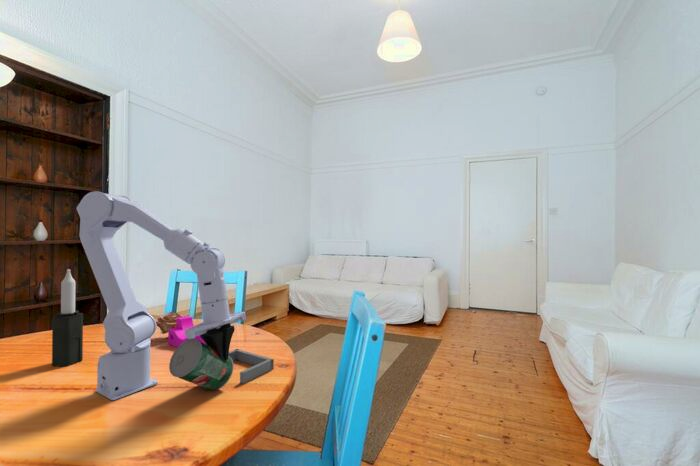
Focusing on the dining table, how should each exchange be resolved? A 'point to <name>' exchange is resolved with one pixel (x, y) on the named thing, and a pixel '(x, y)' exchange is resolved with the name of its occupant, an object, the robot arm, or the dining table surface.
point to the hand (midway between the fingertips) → (222, 360)
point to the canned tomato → (200, 365)
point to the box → (259, 361)
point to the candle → (67, 328)
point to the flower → (168, 321)
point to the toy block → (181, 331)
